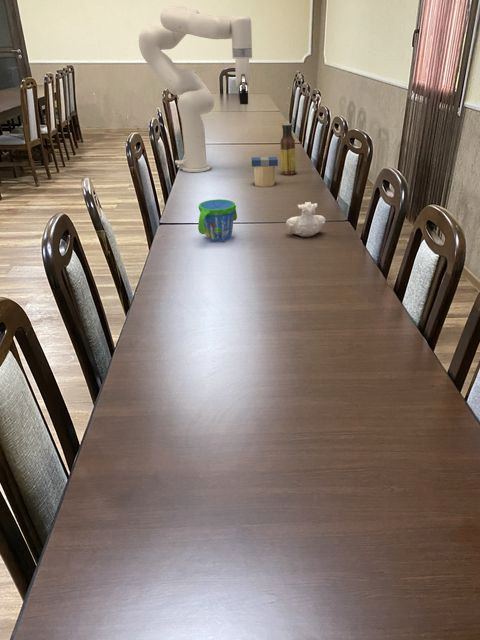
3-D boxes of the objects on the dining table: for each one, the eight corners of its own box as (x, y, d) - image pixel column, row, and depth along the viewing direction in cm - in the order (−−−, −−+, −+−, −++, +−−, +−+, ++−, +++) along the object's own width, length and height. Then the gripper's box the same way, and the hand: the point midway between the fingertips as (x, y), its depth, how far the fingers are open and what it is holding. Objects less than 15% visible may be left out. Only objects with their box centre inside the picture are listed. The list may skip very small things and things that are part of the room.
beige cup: (255, 186, 212) (254, 167, 208) (254, 182, 219) (253, 163, 215) (275, 186, 212) (275, 166, 208) (273, 181, 219) (273, 162, 215)
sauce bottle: (296, 172, 233) (296, 122, 223) (295, 175, 227) (295, 125, 217) (281, 172, 233) (280, 122, 223) (279, 175, 228) (279, 125, 218)
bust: (286, 243, 161) (292, 221, 150) (282, 222, 163) (287, 199, 153) (325, 240, 163) (333, 218, 152) (320, 219, 165) (328, 196, 155)
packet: (252, 166, 209) (251, 160, 208) (251, 163, 214) (251, 157, 212) (277, 166, 209) (277, 159, 208) (276, 163, 214) (276, 156, 213)
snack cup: (213, 249, 152) (210, 213, 146) (187, 241, 158) (184, 207, 152) (249, 234, 162) (248, 201, 157) (224, 228, 168) (222, 195, 163)
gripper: (232, 53, 213) (234, 100, 222) (232, 55, 198) (234, 105, 207) (251, 53, 213) (252, 100, 222) (252, 54, 198) (254, 105, 207)
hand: (243, 102), depth 214 cm, fingers open, 9 cm apart
